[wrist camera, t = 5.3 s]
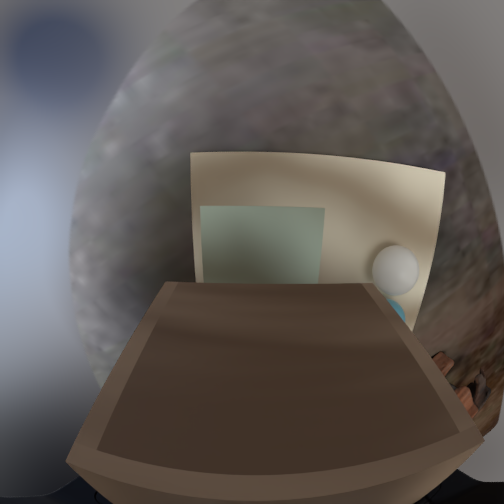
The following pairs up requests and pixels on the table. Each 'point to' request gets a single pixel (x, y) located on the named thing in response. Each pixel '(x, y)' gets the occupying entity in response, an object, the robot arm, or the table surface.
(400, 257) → the marble ivory
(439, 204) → the serving board
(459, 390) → the pottery mug
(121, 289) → the table surface
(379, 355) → the walnut cover
